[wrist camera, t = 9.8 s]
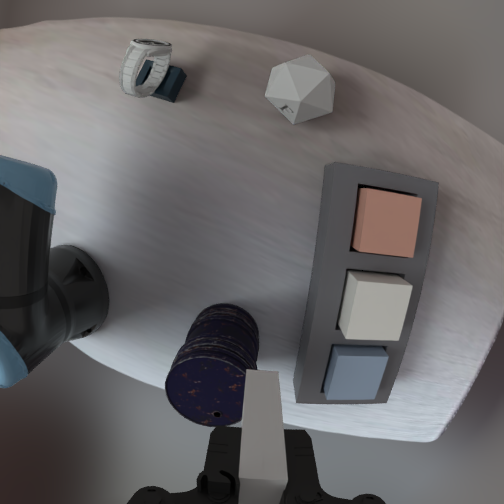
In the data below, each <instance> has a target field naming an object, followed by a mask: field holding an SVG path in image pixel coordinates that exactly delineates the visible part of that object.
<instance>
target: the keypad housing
mask: <svg viewBox="0 0 504 504" xmlns="http://www.w3.org/2000/svg"><path fill="white" fill-rule="evenodd" d="M438 184H439V183H438V182H434V181H430V180H426V179H421V178H417V177H412V176H408V175H403V174H398V173H393V172H388V171H383V170H378V169H372V168H367V167H361V166H355V165H349V164H343V163H337V162H334V163H331V164H328V165H326V166H325V170H324V180H323V189H322V198H321V207H320V216H319V224H318V232H317V239H316V247H315V254H314V261H313V268H312V275H311V281H310V288H309V294H308V301H307V307H306V313H305V319H304V324H303V330H302V336H301V341H300V347H299V352H298V358H297V363H296V368H295V373H294V378H293V383H294V390H295V398H296V403H306V404H376V403H387V400H388V398H389V395H390V393H391V390H392V387H393V385H394V382H395V379H396V376H397V373H398V370H399V367H400V364H401V361H402V358H403V355H404V352H405V349H406V346H407V342H408V339H409V336H410V332H411V329H412V325H413V322H414V318H415V314H416V310H417V306H418V302H419V298H420V294H421V290H422V285H423V281H424V276H425V271H426V266H427V261H428V256H429V251H430V245H431V239H432V233H433V226H434V219H435V211H436V203H437V194H438ZM358 186H362V187H368V188H374V189H380V190H386V191H391V192H397V193H398V194H402V195H408V196H413V197H418V198H422V201H421V210H420V217H419V224H418V231H417V237H416V244H415V249H414V255H413V258H410V257H402V256H393V255H385V254H376V253H367V252H359V251H358V250H356V249H355V248H353V247H352V246H350V243H351V236H352V229H353V222H354V214H355V206H356V197H357V188H358ZM346 268H350V269H360V270H370V271H380V272H387V274H397V275H398V276H400V277H401V278H402V279H404V280H405V281H407V282H408V283H409V284H411V285H412V286H413V287H412V291H411V295H410V300H409V304H408V308H407V312H406V316H405V320H404V323H403V327H402V331H401V334H400V338H399V341H393V340H358V339H346V338H345V336H344V335H343V333H342V331H341V329H340V327H339V325H338V323H337V319H338V314H339V313H338V312H339V307H340V302H341V297H342V291H343V286H344V280H345V274H346ZM332 344H347V345H378V346H382V347H383V349H384V350H385V352H386V353H387V355H388V356H389V358H388V361H387V364H386V367H385V370H384V373H383V376H382V379H381V382H380V385H379V388H378V391H377V394H376V396H375V399H369V400H326V396H325V392H324V389H323V385H322V383H323V379H324V375H325V371H326V367H327V362H328V358H329V354H330V350H331V345H332Z"/></svg>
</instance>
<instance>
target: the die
mask: <svg viewBox="0 0 504 504" xmlns="http://www.w3.org/2000/svg"><path fill="white" fill-rule="evenodd" d="M335 84H336V83H335V81H334V79H333V78H332V76H331V74H330V73H329V72H328V71H327V70H326V69H325V68H324V67H323V66H322V65H321V64H320V63H319V62H317V61H316V60H315V59H314V58H313V57H312V56H311V55H310V54H308V55H305V56H302V57H299V58H296V59H293V60H291V61H288V62H285V63H283V64H280V65H278V66H275V67H273V68H272V71H271V74H270V78H269V82H268V85H267V89H266V93H265V97H266V98H267V99H268V100H269V101H270V102H271V103H272V104H273V105H274V106H275V107H276V108H277V109H278V110H279V111H280V112H281V113H282V114H283V115H284V116H285V117H286V118H287V119H288V120H289V121H290V122H291V123H292V124H293V125H295V124H298V123H301V122H304V121H307V120H310V119H313V118H316V117H319V116H322V115H326V114H329V113H332V111H333V102H334V93H335Z"/></svg>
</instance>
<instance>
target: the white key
mask: <svg viewBox="0 0 504 504" xmlns="http://www.w3.org/2000/svg"><path fill="white" fill-rule="evenodd" d="M412 287H413V286H412V285H411V284H409V283H408V282H407V281H405V280H404V279H402V278H401V277H400V276H398V275H397V274H387V273H377V272H367V271H357V270H347V271H346V277H345V282H344V288H343V293H342V299H341V304H340V309H339V314H338V319H337V323H338V325H339V327H340V329H341V331H342V333H343V335H344V336H345V338H346V339H358V340H393V341H399V338H400V334H401V331H402V327H403V323H404V320H405V316H406V312H407V308H408V304H409V300H410V295H411V291H412Z"/></svg>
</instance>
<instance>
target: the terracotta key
mask: <svg viewBox="0 0 504 504" xmlns="http://www.w3.org/2000/svg"><path fill="white" fill-rule="evenodd" d="M421 201H422V198H418V197H413V196H408V195H402V194H397V193H392V192H386V191H380V190H375V189H369V188H357V197H356V206H355V214H354V222H353V229H352V236H351V243H350V246H352V247H353V248H355V249H356V250H358V251H359V252H367V253H376V254H385V255H393V256H402V257H410V258H413V255H414V249H415V244H416V237H417V231H418V224H419V217H420V210H421Z"/></svg>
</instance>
